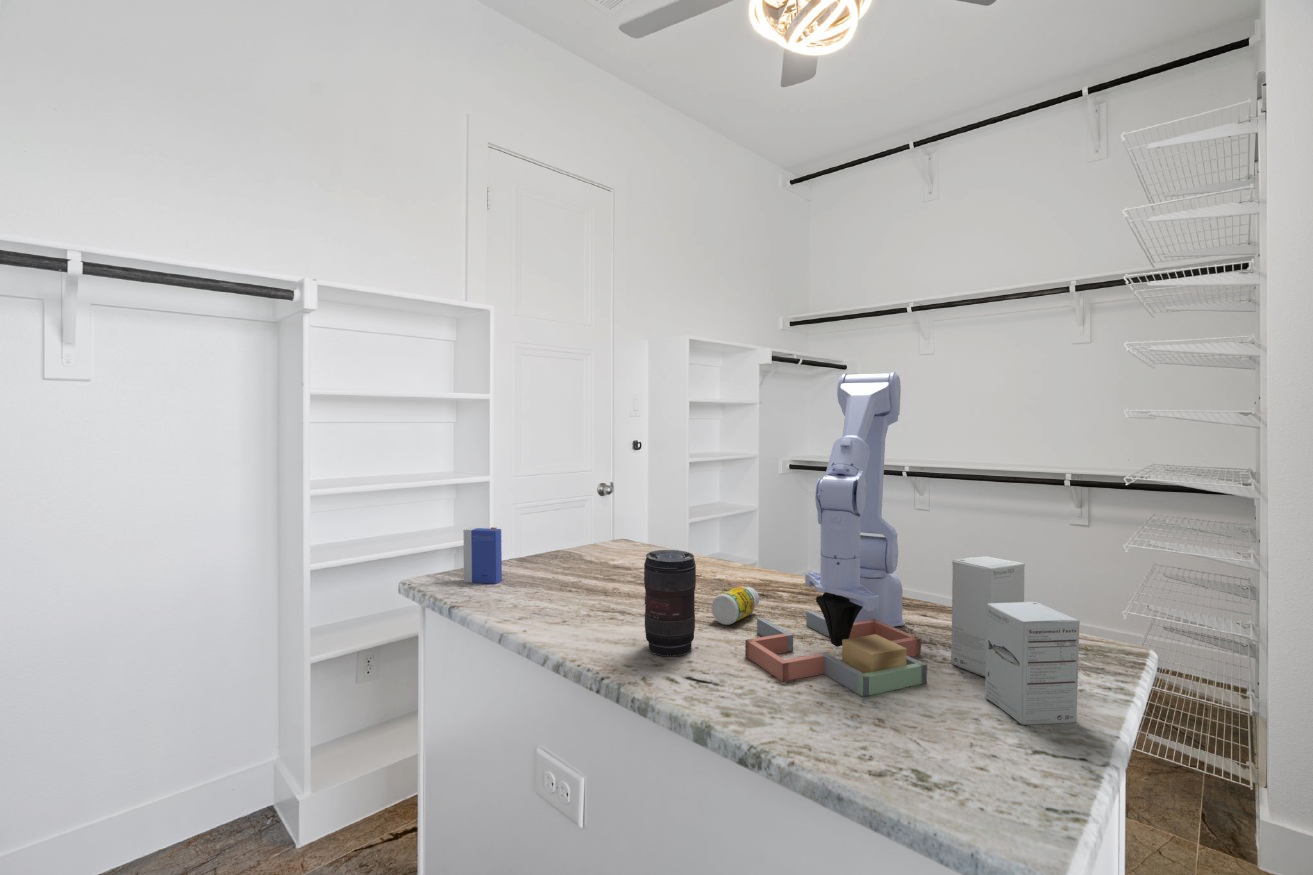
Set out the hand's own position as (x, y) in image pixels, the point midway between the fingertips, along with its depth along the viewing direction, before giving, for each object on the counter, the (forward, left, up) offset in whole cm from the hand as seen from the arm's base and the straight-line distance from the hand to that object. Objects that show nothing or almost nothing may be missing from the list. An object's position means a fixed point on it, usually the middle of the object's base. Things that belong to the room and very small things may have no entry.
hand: (839, 644), depth 95 cm
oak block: (0, +8, -2) cm, 8 cm away
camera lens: (+22, -13, -2) cm, 26 cm away
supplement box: (-11, +23, -2) cm, 25 cm away
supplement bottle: (+9, -20, +1) cm, 22 cm away
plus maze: (0, -1, -2) cm, 3 cm away
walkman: (+44, -66, -2) cm, 80 cm away
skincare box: (-18, +11, -2) cm, 21 cm away
